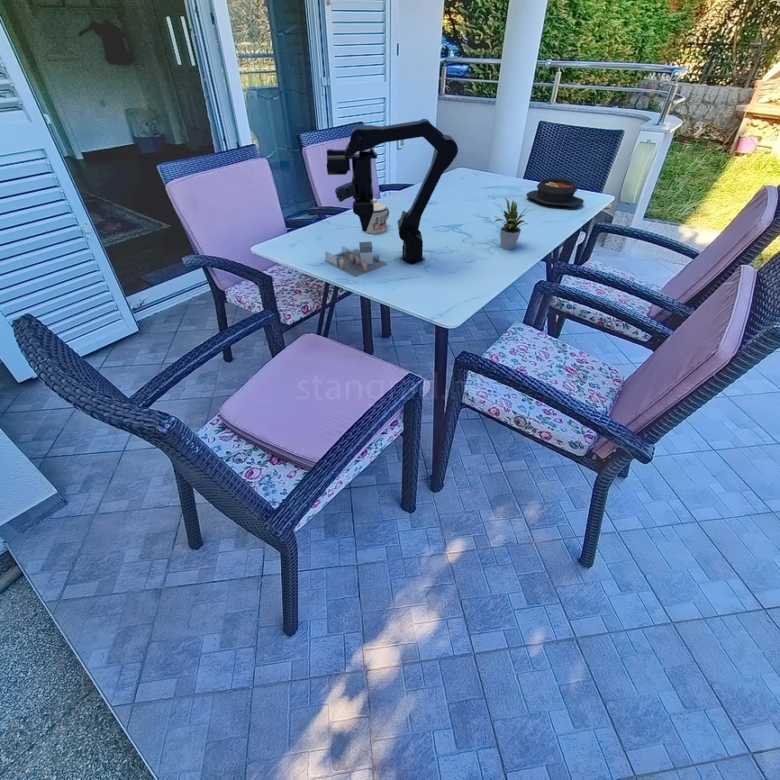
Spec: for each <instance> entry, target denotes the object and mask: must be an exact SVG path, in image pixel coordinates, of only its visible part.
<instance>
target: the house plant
mask: <svg viewBox="0 0 780 780" xmlns="http://www.w3.org/2000/svg"><path fill="white" fill-rule="evenodd" d="M504 200H505V202H506V206H507V207H506V209H507V211H508V212H507V211H506V210H505V209H503V208H502V206H500V204H499V203H495V202H494V204H496V205H497V207H499V208H500V210H499V211H501V212H502V213H503V215H502V216H503V217H504V218H505V220H506V221H505V220H504V219H502V218H499V217H498V216H496V215H494V217H496V219H495V221H493V222H494V223H495V222H498V221H500V222H503V226H501V227H500V248H502V249H505V250H513V248H514V249H515V248H516V246H517V242H518V240H519V237H520V234H521V231H522V229H521V228H520V227H521V226H523V225H529V223H527V222H526V221H525V220H523V219H521V218H522V217H524V216H525V217H526V215H525V213H524V212H525V211H526V209H527V208H528V207H529V205H527V206H526V207H525V208H524V209H523V211H522V212H521V213H520V214H519V211H518V204H519V202H516V201H515V200H514V198H513V199H512V201H511V205H510V201H509V200H508V199H507V198H506V197H504ZM532 210H533V211H534V209H533V208H532V209H529V210H527V211H526V213H528V212H530V211H532ZM523 213H524V214H523ZM518 215H519V216H518ZM524 222H525V223H524ZM522 223H523V224H522ZM520 224H521V225H520Z"/></svg>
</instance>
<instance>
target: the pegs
mask: <svg viewBox="0 0 780 780" xmlns="http://www.w3.org/2000/svg"><path fill="white" fill-rule="evenodd" d="M349 258H350V264H354V263H356V266H360V256H354V255H353V254H350V255H349ZM374 258H375V262H379V260H380V254H374ZM339 261H340V269H339V270H341V271H343V270H344V260H343V259H340V260H339ZM363 272H367V262H363ZM367 273H368V272H367Z"/></svg>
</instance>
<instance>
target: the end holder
mask: <svg viewBox="0 0 780 780" xmlns="http://www.w3.org/2000/svg"><path fill="white" fill-rule="evenodd" d="M352 250H353V249H350V248H348V247H345V245H342V246H341V251H340V252H338V253H335V254H333V253H330V252H328V251H325V252H324V256H325V258H324V261H325V260H326V261H327V263H328V262H329V263H328V264H330V263H331V264H330V265H332V264H333V265H332V266H334V265H335V266H334V267H336V266H337V267H338V266H339V259H338V257H340V256H345V257H347V258H349V255H350V254H353V255H354V256H355V252H354V251H352ZM349 259H350V258H349ZM326 261H325V262H326ZM337 267H336V268H337Z"/></svg>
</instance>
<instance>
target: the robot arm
mask: <svg viewBox="0 0 780 780" xmlns="http://www.w3.org/2000/svg"><path fill="white" fill-rule="evenodd" d="M416 138H424V139H425V140H426V141H427V143H429V144H430V145H431V146H432V147H433V148H434V150H433V153H432V158H431V163H430V166H429V168H428V170H427V173H426V175H425V177H424V179H423V181H422V183H421V186H420V187H419V190H418V191H417V194H416V195H415V198H414V200H413V202H412V204H411V207H410V208H409V209H408V210H407V212H406V211H405V210H402V212H401V216H400V218H399V219H398V220H397V227H398V228H397V230H398V236H399V239H400V240H401V241H402V243H403V244H402V256H401V257H400V258H399V260H400V261H403V262H405V263H407V264H410V265H411V266H412V265H415V264H418V263H421V262H423V261H425V260H426V258H424V257H423V248H424V245H423V243H424V242H423V236H422V232H421V230H419V229H420V224H421V219H422V215H423V213H424V212H425V210H426V207H427V206H428V204H429V201H430V199H431V197H432V196H433V193H434V191H435V189H436V187H437V185H438V183H439V180H440V179H441V177H442V175H443V173H444V172H445V171H446V170H447V169H448V168H449V167H450V166H451V164H452V163H453V162H454V160H455V159H456V157H457V155H458V151H459V147H458V144H457V143H456V141H455V139H454V137H453V136H451V135H450V134H449V135H448V134H443V132H442V131H440V130H439V129H438V128H437V127H435V126H434V125H433V124H432V123H431V121H430V120H429V119H427V118H422V119H419V120H414V121H409V122H408V121H407V122H402V123H395V124H389V125H388V124H387V125H384V126H377V125H373V124H358V125H355V126H354V127H353V129H352V130H351V133H350V138H349V139H350V140H349V142H348V143H347V145H346V147H345V149H333V148H327V150H326V171H327V175H328V176H337V175H338V176H339V175H340V176H341V175H344V176H346V175H348V173H349V172H351V171H352V177H351V181H350V182H347V183H345V184H344V183H343V184H341V185H339V186H337V187H336V188H335V190H334V193H335V195H336V198H337V200H338V202H339V203H341V202H343V201H345V200H347V199H350V198H352V199H354V201H353V202H352V213H354V215H356V216H357V217H358V219H359V222H360V225H361V231H362V232H363V233H364V232H365V231H367V228H368V225H369V223H370V220H371V217H372V215H373V212H374V203H373V201H372V200H373V199H374V188H373V176H372V174H373V173H372V159H375V160H376V159H378V153H377V152H376V151H375V150H374V149H373V148H376V147H377V146H379V145H381V144H384V143H385V144H386V143H390V142H396V141H397V142H398V141H403V140H411V139H416ZM351 167H352V170H351Z"/></svg>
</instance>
